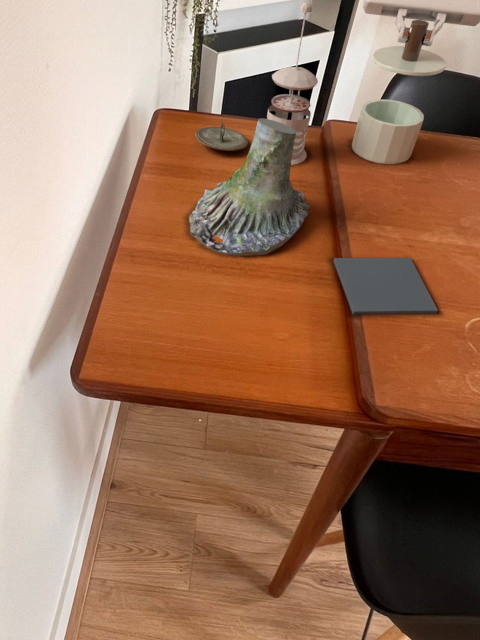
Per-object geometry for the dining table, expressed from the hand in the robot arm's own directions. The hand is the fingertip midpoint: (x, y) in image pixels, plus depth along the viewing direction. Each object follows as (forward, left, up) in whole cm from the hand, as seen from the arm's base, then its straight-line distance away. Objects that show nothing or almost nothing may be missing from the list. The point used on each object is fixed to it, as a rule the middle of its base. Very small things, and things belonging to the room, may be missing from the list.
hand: (414, 42), depth 90 cm
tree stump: (+30, +24, -20) cm, 43 cm away
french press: (+20, 0, -20) cm, 28 cm away
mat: (+12, +41, -19) cm, 47 cm away
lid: (+32, -2, -20) cm, 37 cm away
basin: (0, -1, -19) cm, 19 cm away
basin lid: (0, -1, -3) cm, 3 cm away
